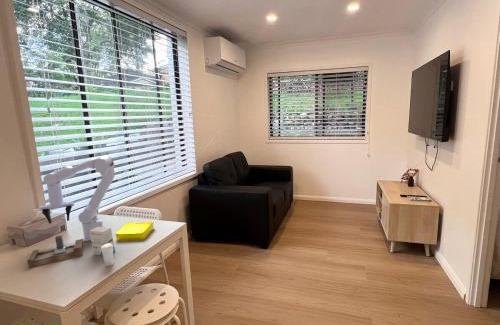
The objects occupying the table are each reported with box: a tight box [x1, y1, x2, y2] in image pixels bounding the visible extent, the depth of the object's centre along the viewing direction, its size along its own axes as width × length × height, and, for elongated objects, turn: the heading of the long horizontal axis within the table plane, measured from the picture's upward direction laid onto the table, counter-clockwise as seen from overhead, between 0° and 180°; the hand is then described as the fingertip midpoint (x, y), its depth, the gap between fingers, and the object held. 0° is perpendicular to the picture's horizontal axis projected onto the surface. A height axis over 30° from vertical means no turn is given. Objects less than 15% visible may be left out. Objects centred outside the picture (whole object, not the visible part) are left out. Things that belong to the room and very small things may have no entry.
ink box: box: [89, 226, 116, 256], centre depth 129 cm, size 9×5×12 cm, turn 71°
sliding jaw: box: [54, 235, 68, 255], centre depth 129 cm, size 4×6×7 cm, turn 26°
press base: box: [27, 238, 85, 268], centre depth 129 cm, size 20×10×4 cm, turn 116°
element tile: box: [115, 221, 154, 242], centre depth 149 cm, size 15×15×5 cm
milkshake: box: [98, 243, 115, 267], centre depth 119 cm, size 4×5×10 cm
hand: (59, 221), depth 145 cm, fingers open, 7 cm apart
